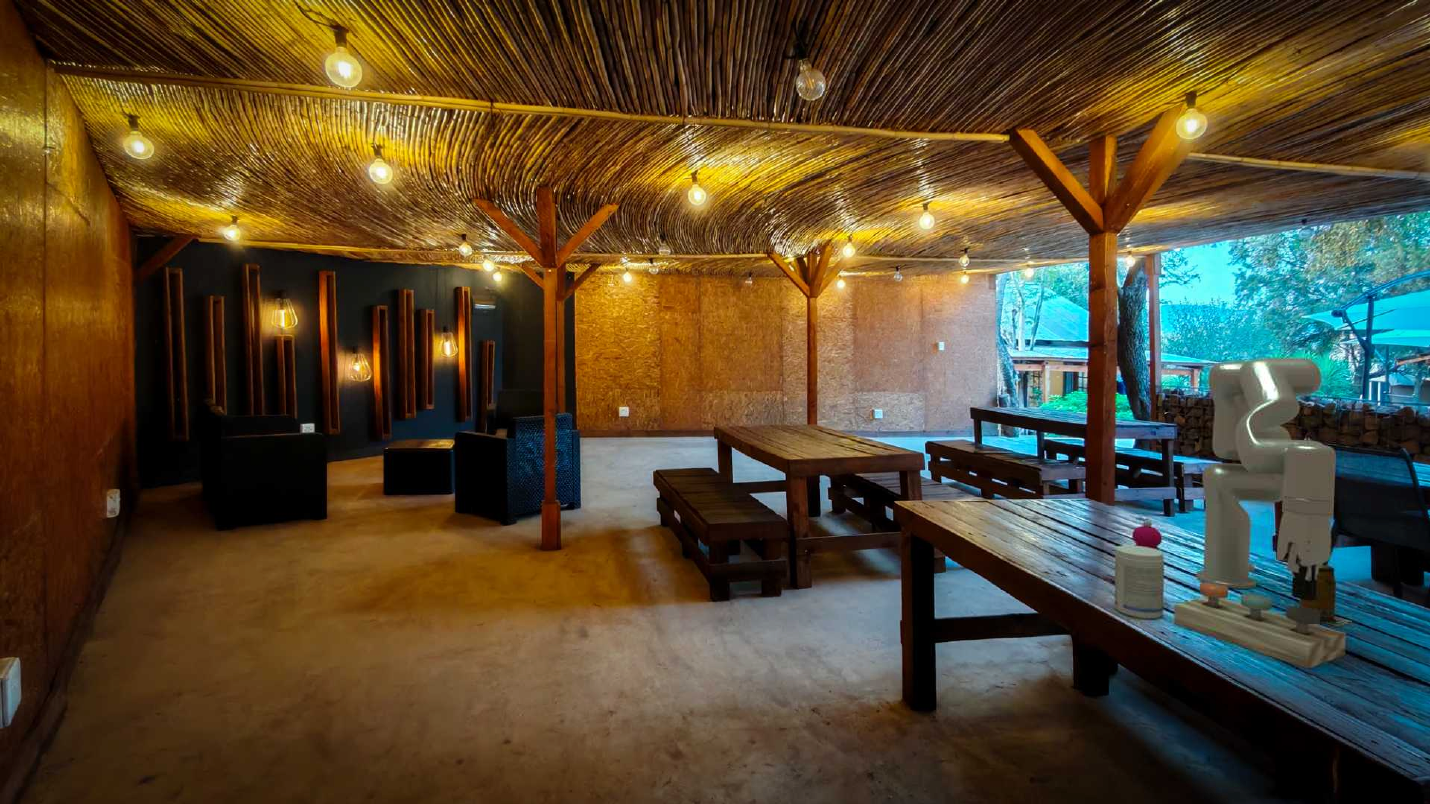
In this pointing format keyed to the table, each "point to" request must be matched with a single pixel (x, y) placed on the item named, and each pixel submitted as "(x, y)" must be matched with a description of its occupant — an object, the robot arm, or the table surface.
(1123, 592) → the supplement tub
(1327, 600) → the condiment
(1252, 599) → the button teal
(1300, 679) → the table surface
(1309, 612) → the button charcoal
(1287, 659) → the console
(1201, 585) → the button vermilion
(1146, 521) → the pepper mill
